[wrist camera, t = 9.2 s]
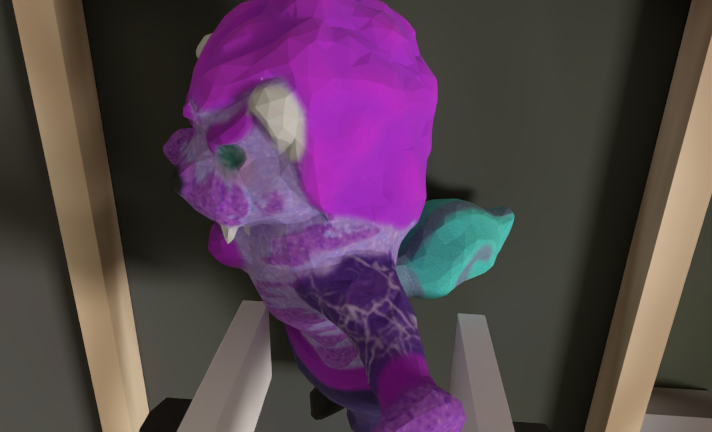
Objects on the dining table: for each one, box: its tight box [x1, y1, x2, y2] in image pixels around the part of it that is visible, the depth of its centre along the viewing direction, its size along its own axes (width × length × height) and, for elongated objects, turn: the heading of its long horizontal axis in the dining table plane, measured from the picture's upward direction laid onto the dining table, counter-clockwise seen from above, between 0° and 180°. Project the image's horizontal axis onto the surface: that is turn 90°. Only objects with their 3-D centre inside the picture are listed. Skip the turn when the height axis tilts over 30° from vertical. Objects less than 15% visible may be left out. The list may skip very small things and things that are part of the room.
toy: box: [163, 0, 514, 432], centre depth 15 cm, size 12×10×15 cm
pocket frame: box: [12, 0, 712, 432], centre depth 19 cm, size 23×22×2 cm
